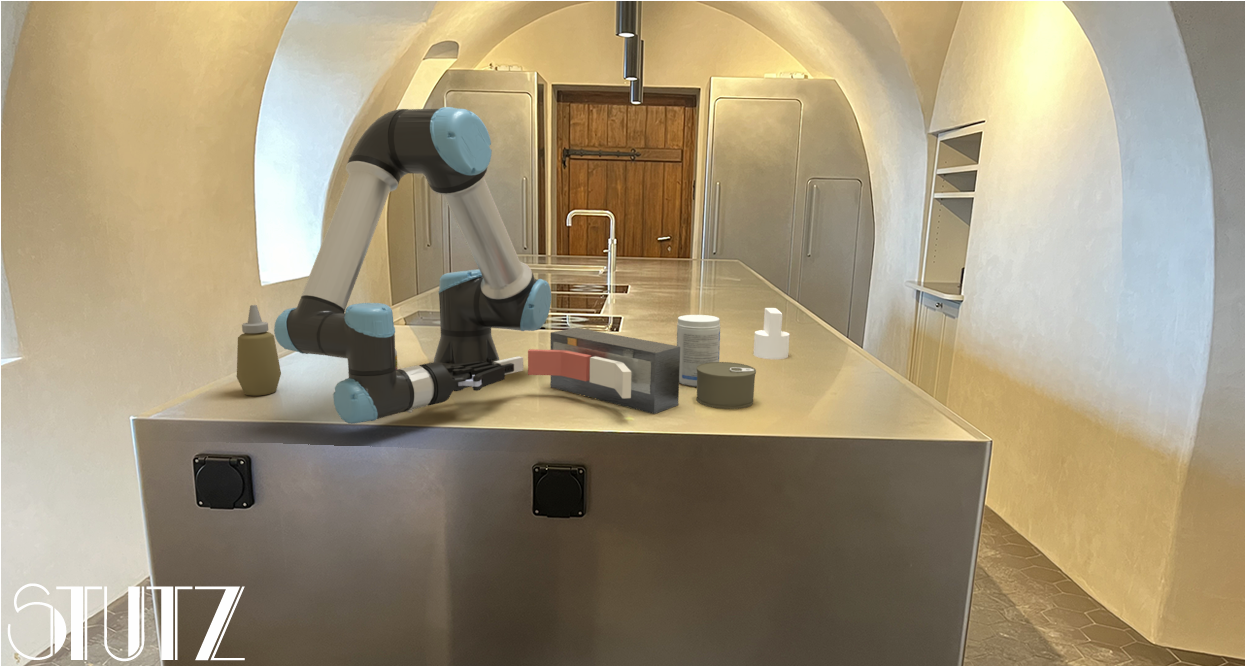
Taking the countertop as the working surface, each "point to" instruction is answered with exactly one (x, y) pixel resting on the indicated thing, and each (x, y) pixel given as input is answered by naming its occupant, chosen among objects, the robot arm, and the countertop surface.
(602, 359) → the cream block
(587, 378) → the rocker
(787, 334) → the cylinder with rectangular tab
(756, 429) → the countertop surface
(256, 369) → the squeeze bottle
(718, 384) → the can
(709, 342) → the supplement tub
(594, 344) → the rocker switch housing
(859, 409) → the countertop surface
